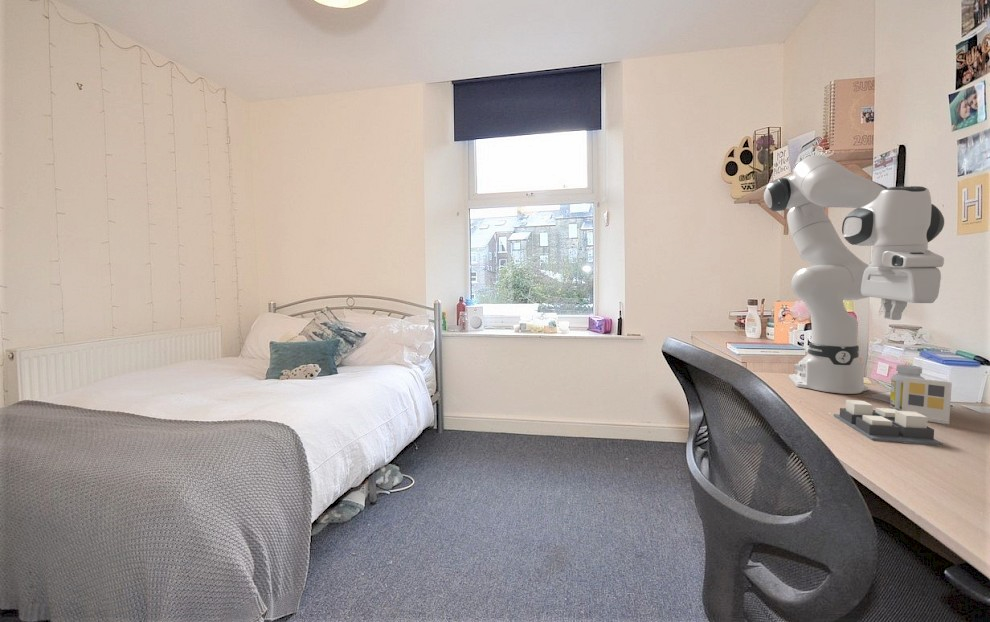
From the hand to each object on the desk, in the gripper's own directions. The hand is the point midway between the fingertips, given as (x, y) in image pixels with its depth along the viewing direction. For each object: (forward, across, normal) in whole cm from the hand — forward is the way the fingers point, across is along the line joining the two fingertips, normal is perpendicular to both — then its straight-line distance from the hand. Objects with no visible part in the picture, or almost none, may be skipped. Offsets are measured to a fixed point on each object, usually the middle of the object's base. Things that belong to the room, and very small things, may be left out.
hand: (892, 319), depth 93 cm
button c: (+23, 0, -5) cm, 24 cm away
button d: (+25, +7, -5) cm, 26 cm away
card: (+26, -7, +12) cm, 29 cm away
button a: (+25, 0, +1) cm, 25 cm away
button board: (+25, +3, -2) cm, 26 cm away
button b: (+23, +7, +1) cm, 24 cm away
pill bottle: (+26, -15, +13) cm, 33 cm away
